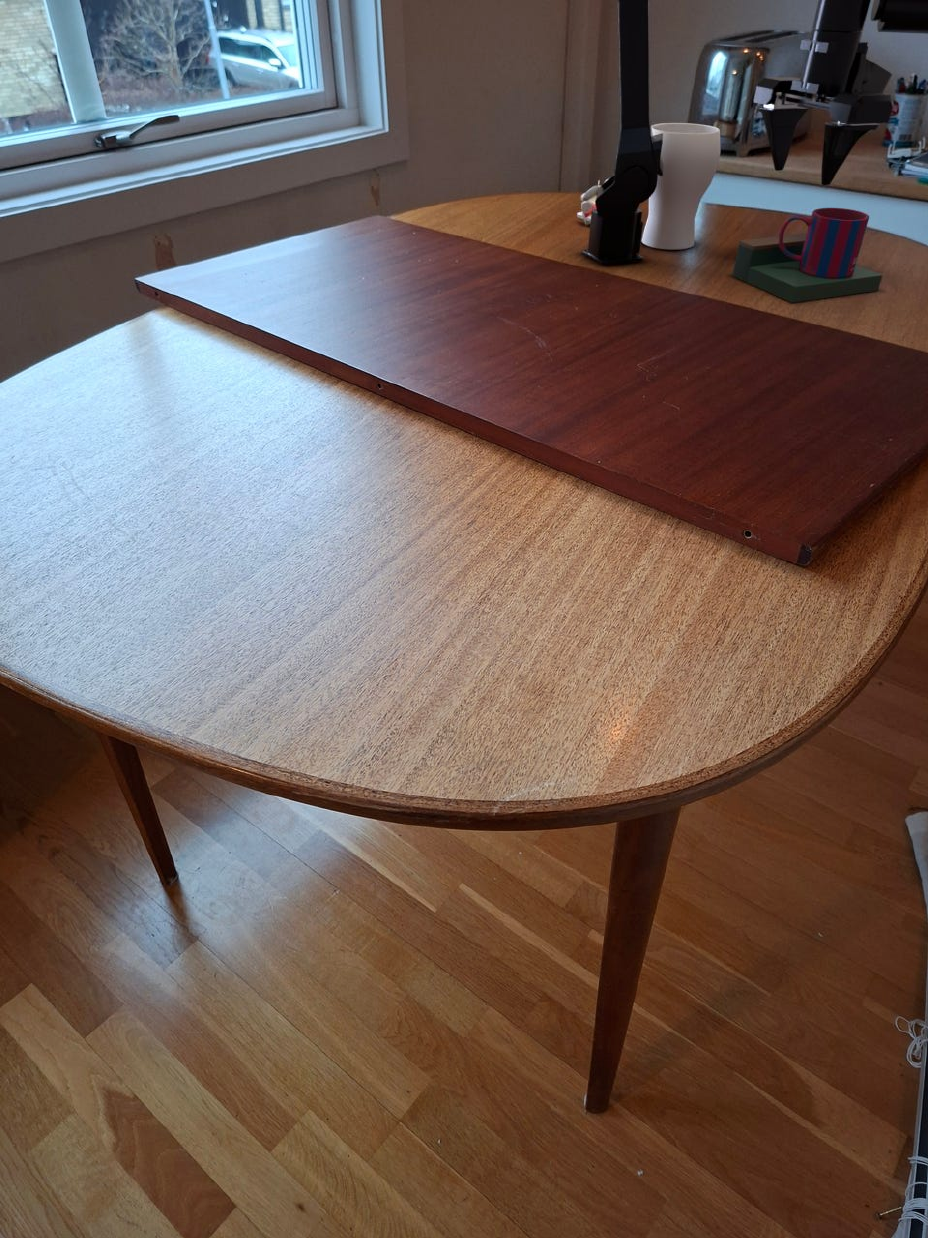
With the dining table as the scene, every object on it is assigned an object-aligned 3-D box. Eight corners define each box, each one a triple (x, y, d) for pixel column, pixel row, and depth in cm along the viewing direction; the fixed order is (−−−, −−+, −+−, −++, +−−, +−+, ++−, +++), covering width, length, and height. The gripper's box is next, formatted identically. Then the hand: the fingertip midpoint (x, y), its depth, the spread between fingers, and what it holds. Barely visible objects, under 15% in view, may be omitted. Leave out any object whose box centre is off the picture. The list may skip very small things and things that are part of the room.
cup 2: (853, 280, 106) (870, 222, 102) (770, 272, 108) (783, 215, 104) (852, 266, 111) (868, 210, 107) (773, 258, 113) (786, 203, 109)
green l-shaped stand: (791, 303, 105) (800, 265, 102) (732, 275, 114) (739, 240, 111) (878, 290, 109) (889, 254, 107) (814, 265, 118) (823, 230, 115)
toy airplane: (635, 218, 138) (641, 174, 134) (626, 232, 131) (632, 186, 127) (580, 213, 140) (584, 170, 136) (568, 226, 133) (572, 181, 129)
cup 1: (617, 241, 126) (630, 126, 117) (660, 230, 132) (676, 119, 123) (675, 257, 120) (694, 137, 111) (718, 244, 126) (739, 129, 117)
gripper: (950, 36, 95) (903, 188, 105) (837, 24, 109) (804, 160, 118) (873, 37, 92) (831, 194, 102) (765, 24, 105) (738, 164, 115)
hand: (801, 177), depth 109 cm, fingers open, 9 cm apart
